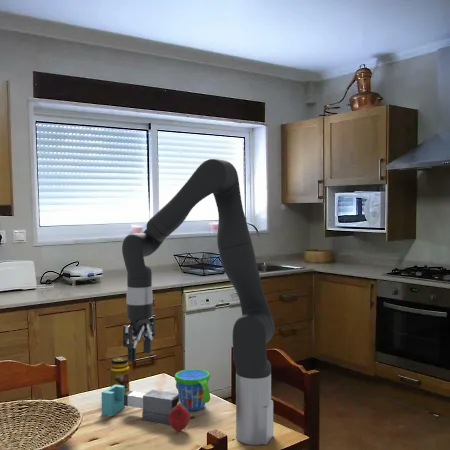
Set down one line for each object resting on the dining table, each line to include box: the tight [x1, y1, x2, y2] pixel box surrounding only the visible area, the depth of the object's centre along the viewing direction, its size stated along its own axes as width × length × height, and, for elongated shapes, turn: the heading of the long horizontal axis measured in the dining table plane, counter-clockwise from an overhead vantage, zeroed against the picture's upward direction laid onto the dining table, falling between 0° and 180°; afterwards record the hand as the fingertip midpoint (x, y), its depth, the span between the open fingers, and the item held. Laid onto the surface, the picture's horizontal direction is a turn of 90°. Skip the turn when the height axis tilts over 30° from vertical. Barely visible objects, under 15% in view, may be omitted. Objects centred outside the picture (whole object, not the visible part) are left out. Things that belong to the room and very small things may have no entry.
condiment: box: [101, 356, 130, 399], centre depth 164 cm, size 7×8×12 cm
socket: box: [101, 385, 126, 417], centre depth 152 cm, size 4×7×7 cm, turn 158°
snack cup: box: [174, 368, 211, 411], centre depth 154 cm, size 16×10×10 cm
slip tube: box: [124, 390, 147, 409], centre depth 147 cm, size 14×3×3 cm, turn 68°
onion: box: [168, 401, 191, 433], centre depth 137 cm, size 6×6×8 cm
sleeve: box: [141, 389, 180, 426], centre depth 146 cm, size 9×6×7 cm, turn 68°
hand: (139, 356), depth 148 cm, fingers open, 8 cm apart
